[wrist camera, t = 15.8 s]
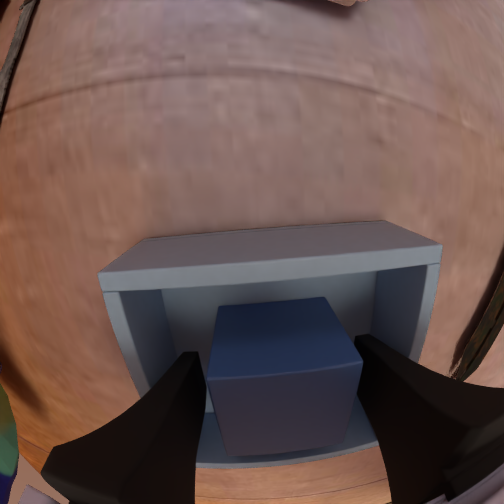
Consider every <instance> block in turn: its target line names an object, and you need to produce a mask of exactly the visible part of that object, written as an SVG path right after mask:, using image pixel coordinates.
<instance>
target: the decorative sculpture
mask: <svg viewBox="0 0 504 504" xmlns="http://www.w3.org/2000/svg"><path fill="white" fill-rule="evenodd" d="M0 365H1V367H0V373H1V371H2V364H1V362H0ZM18 459H19V450H18V441H17V430H16V423H15V420H14V416H13V413H12V410H11V406H10V403H9V399H8V396H7V394H6V392H5V391H4V389H3V387H2V386H1V384H0V504H8V501H9V496H10V491H11V486H12V484H13V481H14V479H15V477H16V475H17V468H18Z"/></svg>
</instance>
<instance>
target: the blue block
mask: <svg viewBox="0 0 504 504" xmlns="http://www.w3.org/2000/svg"><path fill="white" fill-rule="evenodd" d="M362 367H363V360H362V358H361V356H360V354H359V353H358V351H357V349H356V348H355V346H354V344H353V342H352V341H351V339H350V337H349V336H348V334H347V332H346V331H345V329H344V327H343V326H342V324H341V322H340V321H339V319H338V317H337V316H336V314H335V313H334V311H333V309H332V308H331V306H330V304H329V303H328V301H327V300H326V298H325V297H316V298H307V299H297V300H287V301H277V302H265V303H253V304H240V305H226V306H218V310H217V316H216V321H215V327H214V333H213V339H212V344H211V350H210V356H209V362H208V368H207V374H206V382H207V386H208V390H209V394H210V398H211V402H212V405H213V409H214V413H215V416H216V420H217V423H218V427H219V430H220V434H221V437H222V440H223V444H224V447H225V450H226V453H227V455H228V456H246V455H263V454H275V453H284V452H293V451H300V450H307V449H313V448H319V447H324V446H329V445H334V444H339V443H342V442H343V440H344V437H345V434H346V430H347V427H348V424H349V420H350V417H351V413H352V409H353V406H354V402H355V398H356V394H357V389H358V385H359V381H360V376H361V372H362Z"/></svg>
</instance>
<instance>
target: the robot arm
mask: <svg viewBox="0 0 504 504" xmlns="http://www.w3.org/2000/svg"><path fill="white" fill-rule="evenodd" d="M354 346H355V348H356V349H357V351H358V353H359V354H360V356H361V358H362V360H363V367H362V372H361V376H360V381H359V385H358V389H357V396H358V399H359V401H360V403H361V405H362V407H363V409H364V411H365V413H366V415H367V417H368V419H369V421H370V423H371V426H372V428H373V430H374V432H375V435H376V437H377V440H378V443H379V446H380V450H381V453H382V456H383V460H384V464H385V468H386V472H387V476H388V481H389V486H390V492H391V499H392V504H504V388H493V387H486V386H480V385H474V384H470V383H466V382H462V381H459V380H455V379H452V378H449V377H447V376H444V375H442V374H439V373H437V372H434V371H432V370H430V369H428V368H426V367H424V366H422V365H420V364H418V363H416V362H414V361H412V360H411V359H409V358H407V357H405V356H404V355H402V354H400V353H399V352H397V351H396V350H394V349H392V348H391V347H389V346H388V345H386V344H385V343H383V342H382V341H380V340H378V339H377V338H375V337H374V336H372V335H370V334H363V335H357V336H355V340H354ZM206 394H207V386H206V382H205V378H204V374H203V370H202V366H201V361H200V357H199V353H198V351H188V352H183V353H182V354H181V355H180V356H179V357H178V358H177V360H176V361H175V362H174V363H173V364H172V366H171V367H170V368H169V369H168V370H167V371H166V373H165V374H164V375H163V376H162V377H161V378H160V379H159V380H158V382H157V383H156V384H155V385H154V386H153V387H152V388H151V389H150V390H149V391H148V392H147V393H146V394H145V395H144V396H143V397H142V398H141V399H140V400H138V401H137V402H136V403H135V404H134V405H133V406H131V407H130V408H129V409H128V410H126V411H125V412H124V413H122V414H121V415H120V416H118V417H116V418H115V419H113V420H112V421H110V422H109V423H107V424H106V425H104V426H102V427H101V428H99V429H97V430H95V431H93V432H91V433H89V434H87V435H85V436H83V437H80V438H78V439H75V440H73V441H70V442H67V443H64V444H61V445H58V446H55V447H53V449H52V451H51V452H50V454H49V456H48V458H47V460H46V462H45V464H44V466H43V468H42V470H41V475H42V477H43V479H44V480H45V481H46V482H47V483H48V484H49V485H50V486H52V487H53V488H54V489H55V490H56V491H58V492H59V493H60V494H62V495H63V496H64V497H66V498H67V499H68V500H69V504H195V471H196V457H197V450H198V445H199V440H200V435H201V430H202V425H203V419H204V414H205V409H206ZM18 504H60V503H59V502H57V501H56V500H54V499H53V498H51V497H50V496H48V495H46V494H44V493H42V492H41V491H39V490H37V489H35V488H33V487H32V486H30V485H26V488H25V489H24V492H23V494H22V496H21V498H20V501H19V503H18Z"/></svg>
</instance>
